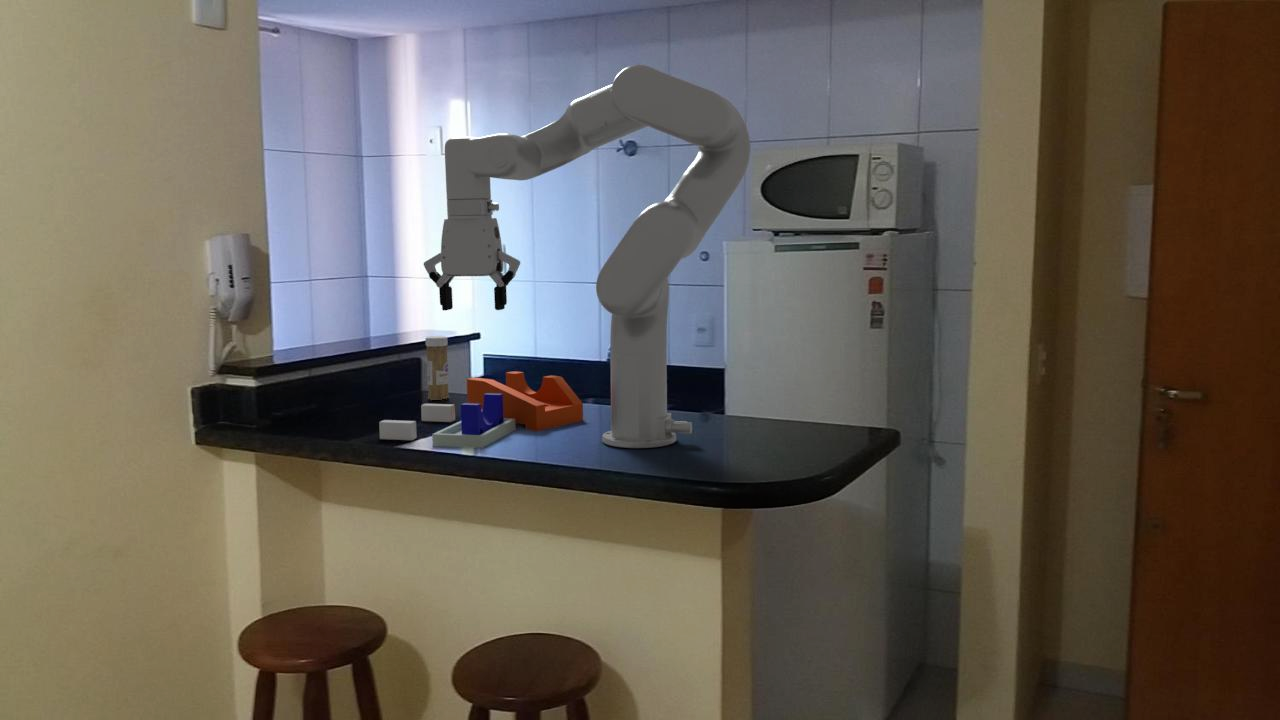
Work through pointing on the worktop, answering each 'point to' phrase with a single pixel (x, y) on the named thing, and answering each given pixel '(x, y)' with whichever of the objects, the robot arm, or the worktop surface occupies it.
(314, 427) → the worktop surface
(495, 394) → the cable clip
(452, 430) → the tray
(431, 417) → the white rectangular blocks
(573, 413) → the tape dispenser
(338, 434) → the worktop surface
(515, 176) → the robot arm
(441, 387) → the sprinkles bottle
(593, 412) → the worktop surface
